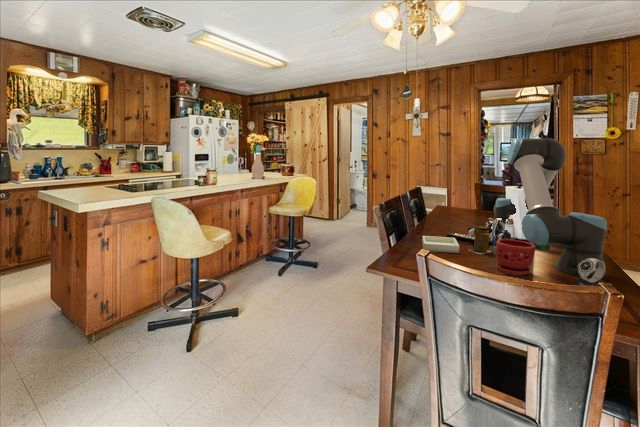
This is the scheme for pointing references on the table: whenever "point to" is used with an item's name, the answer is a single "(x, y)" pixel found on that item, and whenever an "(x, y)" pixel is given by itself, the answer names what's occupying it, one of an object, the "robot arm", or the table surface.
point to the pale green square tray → (440, 244)
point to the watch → (590, 271)
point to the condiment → (481, 240)
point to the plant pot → (514, 256)
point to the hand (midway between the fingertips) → (483, 235)
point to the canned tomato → (542, 247)
